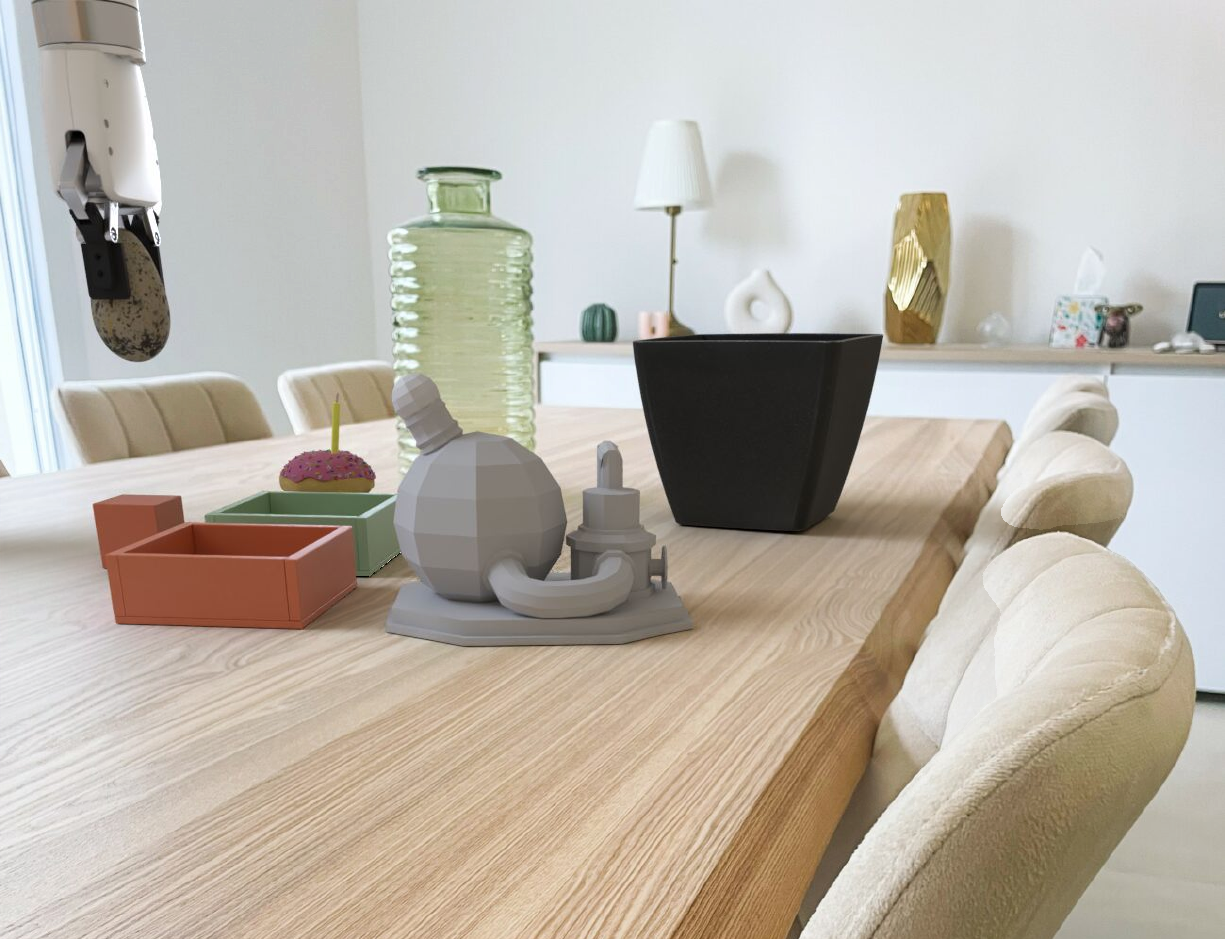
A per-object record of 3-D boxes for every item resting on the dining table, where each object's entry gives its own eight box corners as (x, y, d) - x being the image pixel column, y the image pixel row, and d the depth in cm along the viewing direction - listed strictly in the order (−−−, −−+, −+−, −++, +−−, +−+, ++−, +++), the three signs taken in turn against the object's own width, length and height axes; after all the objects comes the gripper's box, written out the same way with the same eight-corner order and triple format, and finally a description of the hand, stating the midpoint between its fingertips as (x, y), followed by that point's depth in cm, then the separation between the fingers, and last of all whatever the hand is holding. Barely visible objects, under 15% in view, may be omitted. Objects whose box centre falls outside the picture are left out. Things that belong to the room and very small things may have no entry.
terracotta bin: (115, 623, 80) (104, 554, 78) (193, 582, 92) (185, 522, 90) (302, 629, 79) (295, 559, 77) (357, 587, 91) (352, 525, 89)
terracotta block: (102, 568, 96) (92, 503, 94) (130, 556, 101) (121, 494, 99) (163, 569, 96) (154, 505, 94) (189, 557, 101) (181, 495, 99)
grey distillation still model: (377, 646, 75) (358, 380, 69) (401, 591, 89) (387, 367, 83) (700, 643, 76) (709, 382, 70) (673, 589, 90) (679, 368, 84)
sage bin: (211, 573, 95) (203, 514, 93) (268, 543, 106) (262, 490, 105) (370, 577, 94) (365, 518, 92) (410, 546, 105) (406, 493, 104)
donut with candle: (397, 526, 115) (389, 391, 110) (335, 540, 108) (323, 397, 103) (328, 518, 119) (317, 387, 114) (264, 531, 112) (249, 393, 107)
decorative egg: (154, 359, 105) (136, 230, 101) (189, 361, 101) (172, 227, 97) (86, 362, 101) (65, 227, 97) (121, 364, 97) (99, 224, 93)
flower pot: (626, 528, 114) (628, 335, 108) (693, 500, 131) (698, 330, 124) (825, 544, 108) (840, 339, 101) (870, 512, 124) (885, 333, 117)
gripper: (95, 59, 100) (130, 299, 107) (-21, 15, 84) (29, 300, 91) (184, 57, 99) (214, 298, 107) (84, 13, 84) (127, 299, 91)
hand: (128, 296), depth 99 cm, fingers closed on decorative egg, 5 cm apart
